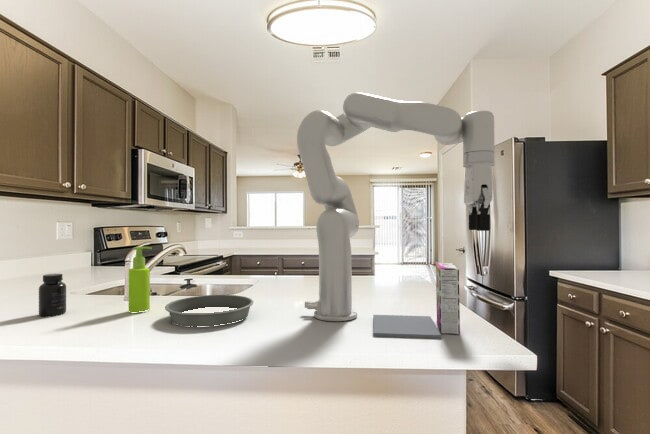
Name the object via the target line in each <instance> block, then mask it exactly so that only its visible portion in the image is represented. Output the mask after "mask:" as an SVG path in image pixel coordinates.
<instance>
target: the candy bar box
mask: <svg viewBox="0 0 650 434" xmlns="http://www.w3.org/2000/svg"><path fill="white" fill-rule="evenodd" d="M435 282H436V283H435V287H436V288H435V289H436V290H435V291H436V293H435V294H436V295H435V297H436V299H435V300H436V323H437V326H438V330H439V332H440V334H441V335H460V334H461V320H460V319H461V318H460V317H461V315H460V313H461V311H460V305H461V304H460V268H458V266H456V265H455V263H452V262H436V263H435Z"/></svg>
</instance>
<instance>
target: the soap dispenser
mask: <svg viewBox="0 0 650 434" xmlns="http://www.w3.org/2000/svg"><path fill="white" fill-rule="evenodd" d="M132 249H133V250H135V253H136V255H135V257H133V259H132V265H133V266H132V268H130V269H128V312H129V311H130V312H139V311H145V310H148V309H150V308H151V306H150V305H151V304H150V300H151V299H150V298H151V297H150V296H151V295H150V289H151V288H150V279H151V278H150V277H151V273H150V271H151V270H150V268H149V267H146V258H145V257H144V256H143V250H145V249H146V250H147V249H148V250H152V249H153V247H151V246H135V247H133V248H132Z"/></svg>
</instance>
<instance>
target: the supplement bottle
mask: <svg viewBox="0 0 650 434" xmlns="http://www.w3.org/2000/svg"><path fill="white" fill-rule="evenodd" d="M63 280H64V279H63V274H62V273H47V274H44V275H43V276H42V282H43V283H41V285H39V287H38V315H39V316H40V317H43V318H49V317H48V316H51V317H57V316H56V315H58V316H60V315H61V314H62V315H64V314H66V312H67V285H66V283H65V282H63ZM62 315H61V316H62ZM46 316H47V317H46Z"/></svg>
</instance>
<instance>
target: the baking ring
mask: <svg viewBox="0 0 650 434" xmlns="http://www.w3.org/2000/svg"><path fill="white" fill-rule="evenodd" d="M253 305H254V300H253V299H252V298H250V297H247V296H243V295H236V294H235V295H234V294H207V295H206V294H205V295H199V296H198V295H197V296H190V297H185V298H184V297H183V298H181V299H180V298H178V299H176V300H173V301H170V302H169V303H167V304H166V305H165V307H164V308H165V309H164V310H165V311H167V312H168V313H169V316H170V321H171V323H172V322H173V323H175V324H178V325H182V326H181V327H183V326H190V327H189V328H196V327H197V326H214V325H220V324H227V323H232V322H236V321H239V320H242V319H244V318H246V317H247V316H249V313H250V307H251V306H253ZM205 307H229V308H237V309H234V310H229V311H223V312H214V313H182V312H184V311H188V310H193V309H198V308H205ZM247 318H248V317H247ZM247 318H246V319H247ZM244 320H245V319H244ZM242 321H243V320H242ZM173 323H172V324H173ZM175 324H174V325H175ZM178 325H177V326H178ZM191 326H193V327H191Z"/></svg>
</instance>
